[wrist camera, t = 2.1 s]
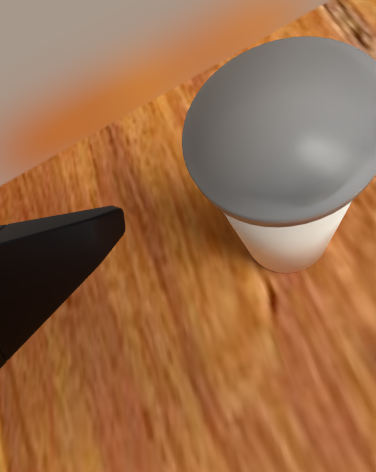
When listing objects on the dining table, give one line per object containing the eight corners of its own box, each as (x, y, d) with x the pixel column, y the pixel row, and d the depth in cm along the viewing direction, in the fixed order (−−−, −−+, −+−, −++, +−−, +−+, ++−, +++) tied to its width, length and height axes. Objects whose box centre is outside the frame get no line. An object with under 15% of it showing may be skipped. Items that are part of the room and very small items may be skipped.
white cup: (276, 293, 18) (254, 262, 7) (226, 227, 20) (151, 124, 9) (353, 241, 17) (460, 118, 6) (292, 178, 20) (296, 5, 9)
